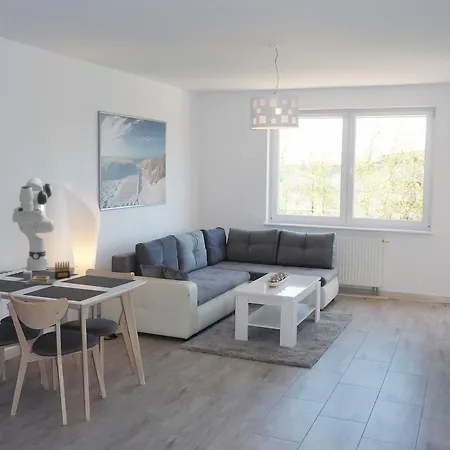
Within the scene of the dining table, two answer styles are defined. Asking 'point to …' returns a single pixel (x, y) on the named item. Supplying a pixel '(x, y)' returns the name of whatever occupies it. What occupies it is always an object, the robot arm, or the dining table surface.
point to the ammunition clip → (62, 270)
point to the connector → (27, 275)
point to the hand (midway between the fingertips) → (27, 228)
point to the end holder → (40, 280)
